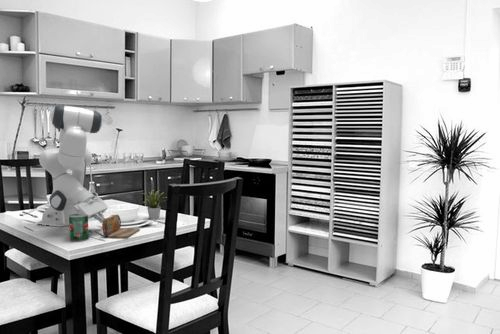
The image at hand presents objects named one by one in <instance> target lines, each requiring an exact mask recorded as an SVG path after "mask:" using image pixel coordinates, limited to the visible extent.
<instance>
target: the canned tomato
mask: <svg viewBox="0 0 500 334" xmlns="http://www.w3.org/2000/svg"><path fill="white" fill-rule="evenodd" d="M68 226H69V241H70V242H75V243H78V242H84V241H85V242H86V241H88V240H89V239H90V237H89V236H90V235H89V233H90V231H89V219H88V215H78V214H72V215H69V225H68Z"/></svg>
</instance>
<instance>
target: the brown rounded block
mask: <svg viewBox="0 0 500 334" xmlns="http://www.w3.org/2000/svg"><path fill="white" fill-rule="evenodd" d="M105 218H106V219H104V221H103V222H102V223H101V224H102V225H101V226H102V227H101V228H102V233H103V235H104V236H105V237H108V236H109V235H110V234H112V233H114V232H116V231H118V230H119V229H121V226H122V221H121V217H120V215H119V214H112V215H110V216H108V217H105Z"/></svg>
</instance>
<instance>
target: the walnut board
mask: <svg viewBox="0 0 500 334" xmlns="http://www.w3.org/2000/svg"><path fill="white" fill-rule="evenodd" d="M140 229H141V228H135V227H134V228H130V227H122V228H121V227H120V229H119V230H118V231H116V232H114V233H112V234H110V235H109V236H107V239H123V240H124V239H125V240H126V239H129V238H131V236H133V235H136V234H137V233H138V232H140Z"/></svg>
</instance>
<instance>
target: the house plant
mask: <svg viewBox="0 0 500 334" xmlns="http://www.w3.org/2000/svg"><path fill="white" fill-rule="evenodd" d="M154 191H155V190H154V188H153V189H152V194H151V192H148V194H149V195H148V194H147V190H146V191H145V192H143V193H142V192H141V194H143V195H144V196H145V197H146V199H145V201H143V202H142V203H143V205H145V204H148V205H149V206H147V207H146V209H147V214H148V218H150V219H149V220H158V219H160V215H161V214H160V213H161V206H159V204H160V203H161V201H162V200H163V199H166V198H168V197H167V196H163V197H161V196H162V194H165V192H162V194H158V193H159V191H160V190H156V191H155V192H154Z"/></svg>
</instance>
